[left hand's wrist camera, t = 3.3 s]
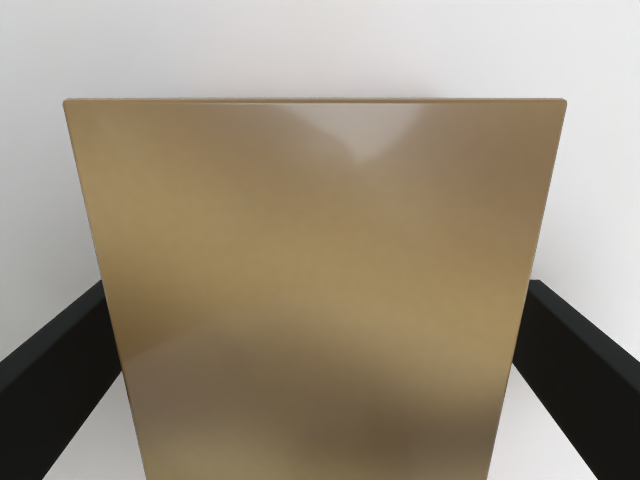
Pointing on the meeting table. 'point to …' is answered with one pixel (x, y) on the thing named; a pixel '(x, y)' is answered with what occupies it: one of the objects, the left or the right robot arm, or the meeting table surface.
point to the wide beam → (315, 276)
